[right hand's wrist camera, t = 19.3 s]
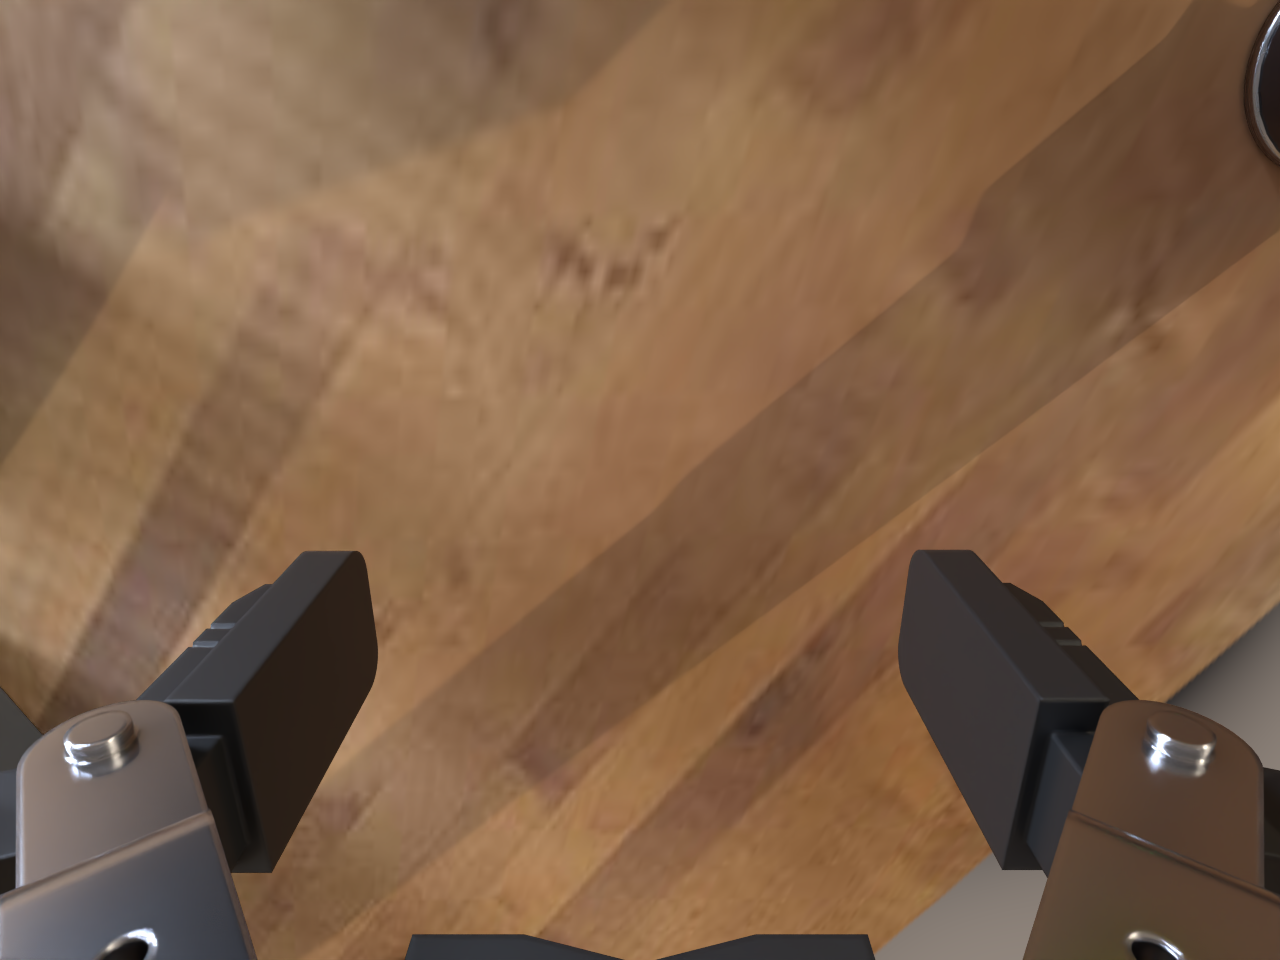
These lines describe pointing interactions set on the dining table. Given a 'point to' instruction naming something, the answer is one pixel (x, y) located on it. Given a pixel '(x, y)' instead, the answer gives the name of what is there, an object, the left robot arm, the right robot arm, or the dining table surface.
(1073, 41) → the dining table surface
